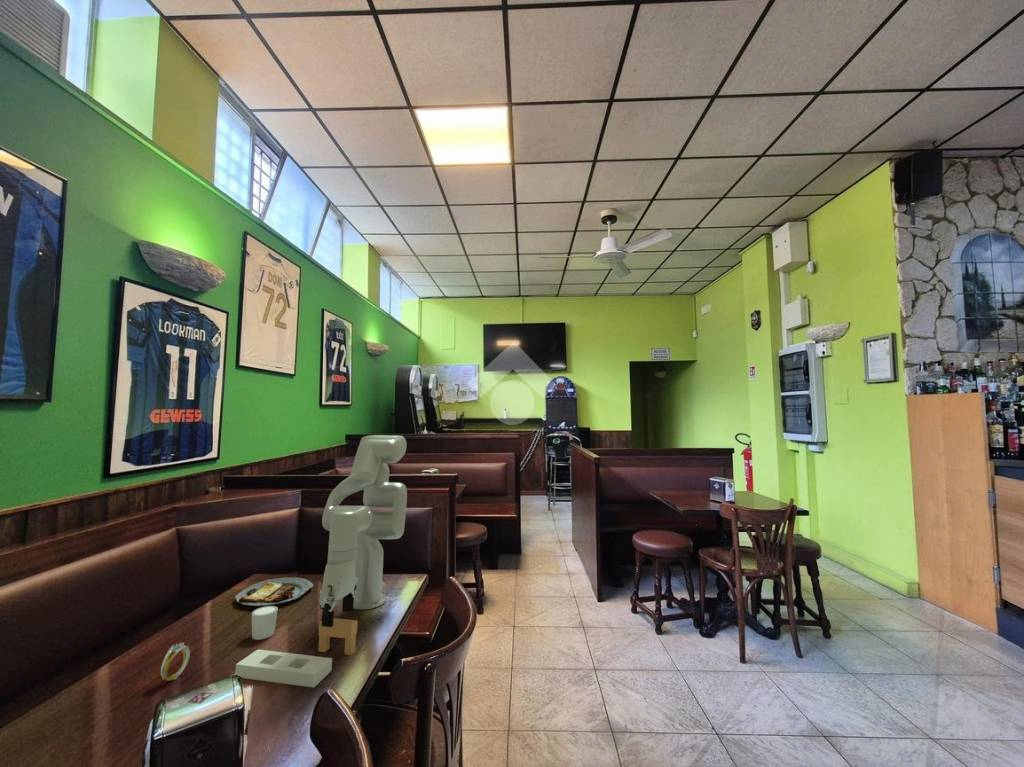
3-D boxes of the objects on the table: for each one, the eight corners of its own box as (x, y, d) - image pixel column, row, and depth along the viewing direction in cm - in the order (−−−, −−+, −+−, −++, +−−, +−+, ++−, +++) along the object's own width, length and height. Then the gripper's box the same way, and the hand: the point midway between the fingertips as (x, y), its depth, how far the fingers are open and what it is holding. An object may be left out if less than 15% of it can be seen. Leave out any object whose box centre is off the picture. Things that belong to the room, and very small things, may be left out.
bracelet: (181, 670, 104) (185, 637, 105) (192, 671, 103) (195, 638, 104) (154, 687, 97) (158, 651, 98) (165, 688, 97) (169, 652, 97)
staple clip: (323, 646, 116) (325, 617, 117) (356, 650, 114) (357, 620, 115) (317, 652, 113) (319, 622, 114) (350, 656, 111) (351, 625, 112)
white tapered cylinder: (263, 642, 118) (265, 616, 119) (243, 639, 119) (245, 614, 120) (281, 630, 125) (283, 606, 125) (262, 628, 126) (264, 604, 127)
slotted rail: (256, 661, 108) (257, 649, 109) (331, 670, 105) (332, 658, 105) (234, 677, 101) (236, 664, 102) (314, 687, 98) (314, 674, 98)
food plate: (285, 612, 137) (286, 601, 138) (218, 610, 138) (219, 600, 138) (321, 584, 162) (322, 575, 162) (265, 583, 163) (265, 573, 163)
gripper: (347, 546, 125) (343, 605, 123) (310, 563, 108) (305, 631, 106) (369, 548, 124) (366, 607, 122) (336, 564, 107) (331, 634, 105)
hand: (337, 618), depth 114 cm, fingers open, 9 cm apart
